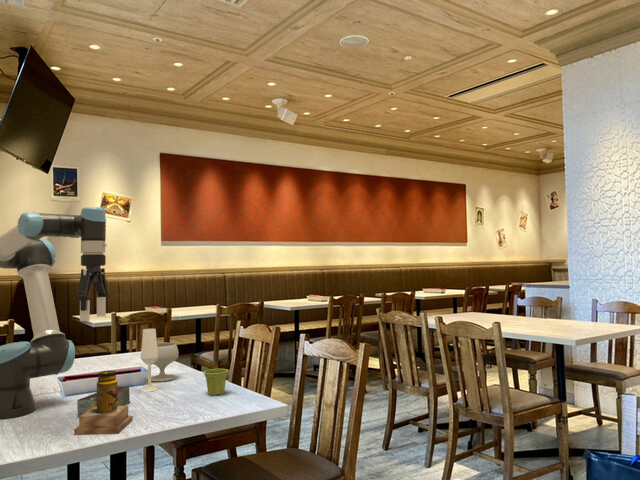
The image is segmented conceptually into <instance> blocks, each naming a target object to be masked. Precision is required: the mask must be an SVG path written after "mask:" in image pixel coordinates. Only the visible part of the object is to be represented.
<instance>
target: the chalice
mask: <svg viewBox="0 0 640 480" xmlns="http://www.w3.org/2000/svg"><path fill="white" fill-rule="evenodd" d="M157 349H158V358H157V360H156V361H155V362H154V363H153V364H152V365H154V366H156V367H157V368H158V370H159V373H158V375H151V382H167V381H172V380H175V379H177V378H178V377H177V375H175V374H167V373H165V369H166V368H167V367H168V366H169V365H170V364H172V363H174V362H175V361H176V360H177V359H178V358H179V353H180V352H179V348H178V345H177V344H176V342H157Z"/></svg>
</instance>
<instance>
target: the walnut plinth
mask: <svg viewBox="0 0 640 480" xmlns="http://www.w3.org/2000/svg"><path fill="white" fill-rule="evenodd" d="M117 408H118V409H119V410H120V412H115V413H108V414H100V415H94V416H91V415H90V413H89V412H88V411H86V412H85V413H84V414H82V415H81V416H79V417H78V426H77V427H76V428H75V429H74V430H73V431H74V432H73V433H74V434H73V435H76V436H77V435H109V434H111V435H112V434H120V433H121V432H122V431H123V430H124V429H125V428H126V427H127V426H128V425H129V424H130V423H132V422H133V419H134V418H133V417H134V416H133V415H129V405H123V406H117ZM91 409H97V406H94V407H92V408H91Z"/></svg>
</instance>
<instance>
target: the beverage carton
mask: <svg viewBox="0 0 640 480" xmlns="http://www.w3.org/2000/svg"><path fill="white" fill-rule="evenodd" d="M117 386H118V385H117ZM117 391H118V403H117V405H118V406H127V405H128V404H130V403H131V402H130V401H131V399H130V386H129V385H128V386H125V385H124V386H121V385H119V386H118V387H117ZM76 404H77V406H76V407H77V410H76V412H77V417H78V418H79V416H81V415H82V414H84V413H85V412H86V411H88V410H89V409H91V408H92V407H94V406H97V392H94V393H93V394H89V395H87V396H84V397H81V398H79V399H77V403H76Z"/></svg>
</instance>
